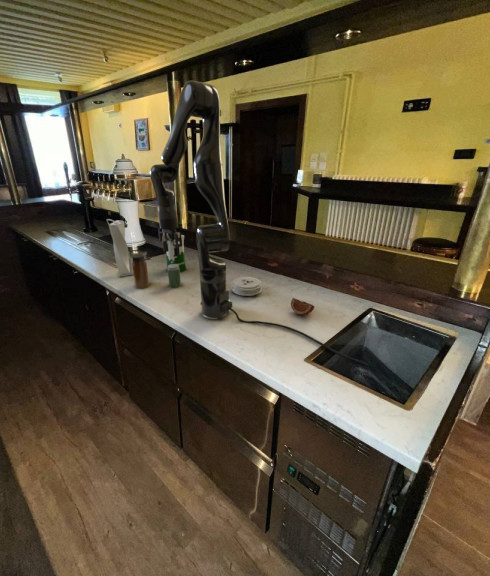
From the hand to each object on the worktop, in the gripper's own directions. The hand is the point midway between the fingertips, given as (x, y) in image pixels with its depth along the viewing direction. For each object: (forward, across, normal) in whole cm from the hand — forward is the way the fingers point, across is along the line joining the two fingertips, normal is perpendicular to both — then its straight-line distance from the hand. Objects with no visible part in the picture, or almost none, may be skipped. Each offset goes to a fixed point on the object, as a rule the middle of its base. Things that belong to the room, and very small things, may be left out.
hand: (171, 253), depth 131 cm
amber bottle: (+15, +10, +11) cm, 21 cm away
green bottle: (+15, 0, 0) cm, 15 cm away
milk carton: (+15, +15, -12) cm, 25 cm away
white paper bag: (+15, +30, +10) cm, 35 cm away
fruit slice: (+15, -54, -19) cm, 59 cm away
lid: (+15, -27, -18) cm, 36 cm away
